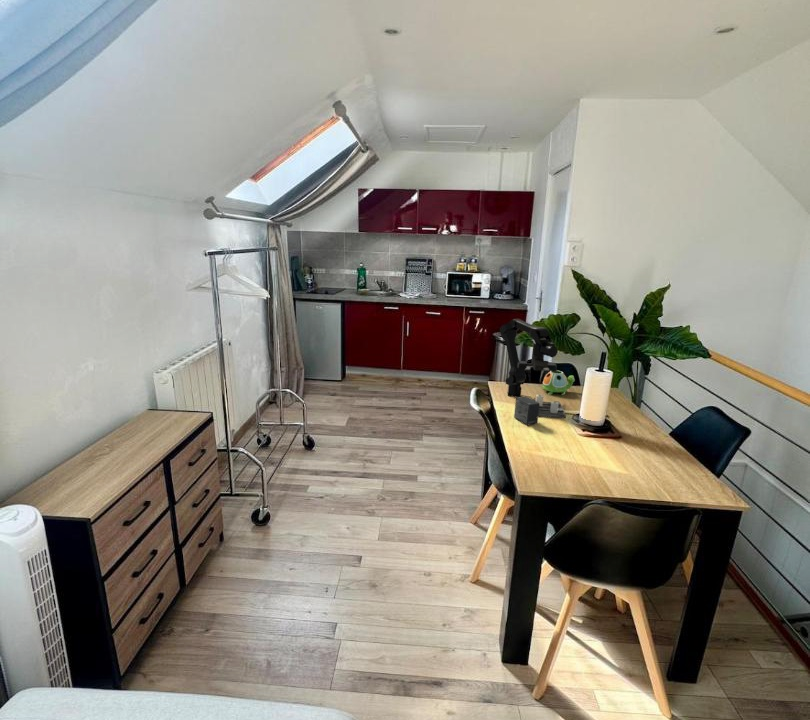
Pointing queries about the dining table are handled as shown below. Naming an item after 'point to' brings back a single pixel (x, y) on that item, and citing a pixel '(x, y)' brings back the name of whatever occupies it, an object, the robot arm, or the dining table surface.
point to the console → (545, 412)
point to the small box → (526, 410)
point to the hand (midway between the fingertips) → (535, 382)
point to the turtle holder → (557, 382)
